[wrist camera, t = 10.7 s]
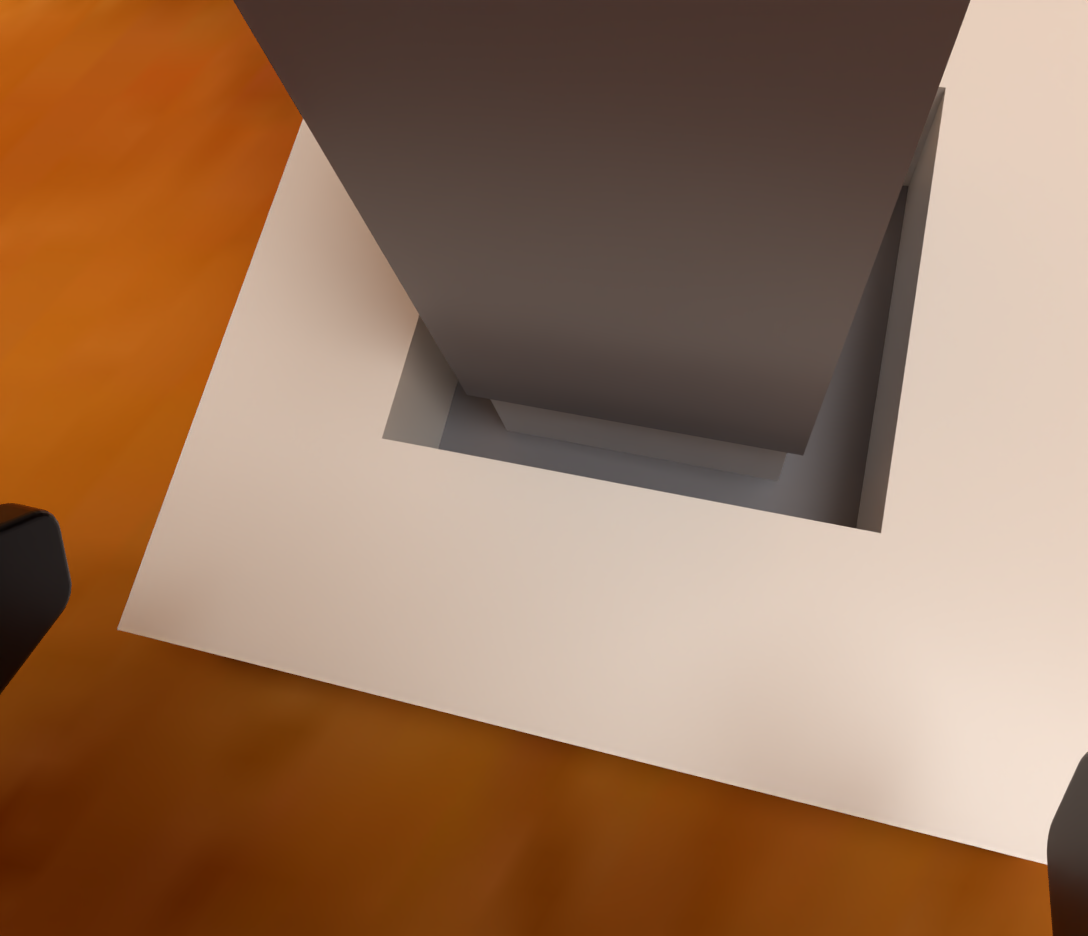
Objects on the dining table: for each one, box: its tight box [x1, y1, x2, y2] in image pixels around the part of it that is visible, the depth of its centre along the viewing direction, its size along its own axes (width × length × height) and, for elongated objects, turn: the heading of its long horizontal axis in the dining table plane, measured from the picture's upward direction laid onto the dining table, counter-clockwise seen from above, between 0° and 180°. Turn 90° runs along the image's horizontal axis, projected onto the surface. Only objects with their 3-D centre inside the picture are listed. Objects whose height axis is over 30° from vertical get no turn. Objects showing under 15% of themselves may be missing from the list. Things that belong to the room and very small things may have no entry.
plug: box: [234, 0, 971, 481], centre depth 10 cm, size 5×5×13 cm
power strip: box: [117, 0, 1088, 864], centre depth 16 cm, size 22×13×4 cm, turn 167°
